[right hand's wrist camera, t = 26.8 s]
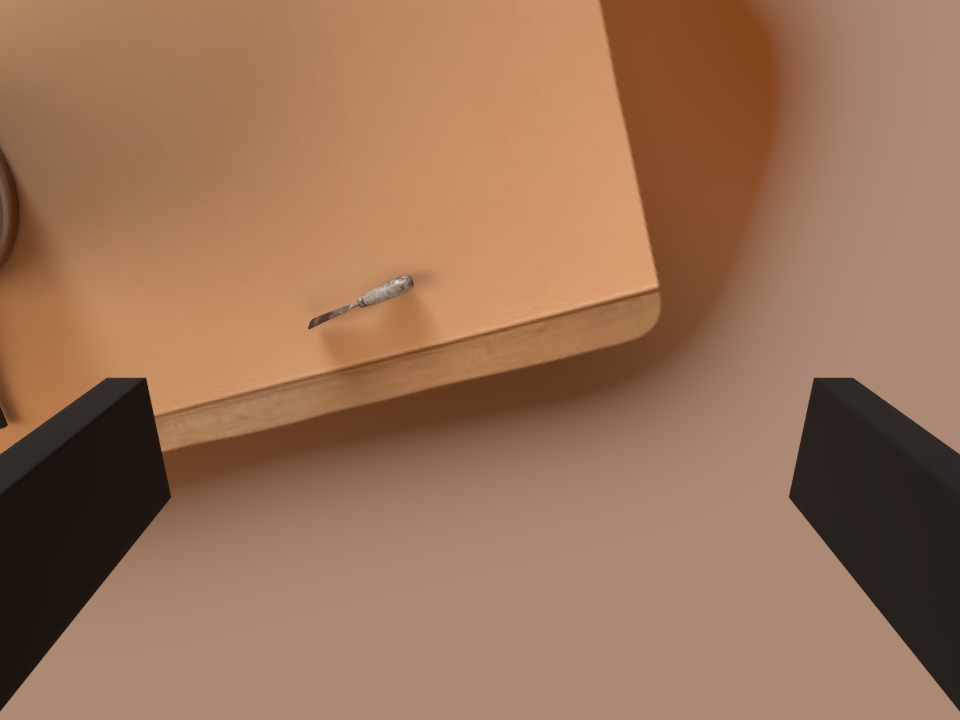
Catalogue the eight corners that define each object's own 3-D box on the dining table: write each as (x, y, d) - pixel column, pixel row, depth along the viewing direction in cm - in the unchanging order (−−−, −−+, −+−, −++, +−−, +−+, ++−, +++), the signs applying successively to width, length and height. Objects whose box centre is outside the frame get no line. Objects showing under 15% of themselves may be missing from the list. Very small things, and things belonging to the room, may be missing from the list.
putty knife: (416, 284, 44) (414, 290, 43) (316, 329, 45) (310, 337, 44) (409, 271, 44) (407, 277, 42) (309, 316, 45) (303, 324, 44)
